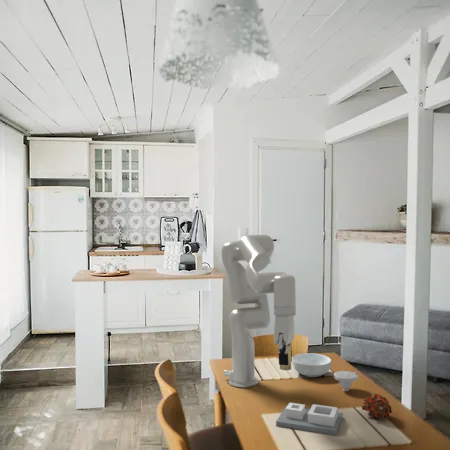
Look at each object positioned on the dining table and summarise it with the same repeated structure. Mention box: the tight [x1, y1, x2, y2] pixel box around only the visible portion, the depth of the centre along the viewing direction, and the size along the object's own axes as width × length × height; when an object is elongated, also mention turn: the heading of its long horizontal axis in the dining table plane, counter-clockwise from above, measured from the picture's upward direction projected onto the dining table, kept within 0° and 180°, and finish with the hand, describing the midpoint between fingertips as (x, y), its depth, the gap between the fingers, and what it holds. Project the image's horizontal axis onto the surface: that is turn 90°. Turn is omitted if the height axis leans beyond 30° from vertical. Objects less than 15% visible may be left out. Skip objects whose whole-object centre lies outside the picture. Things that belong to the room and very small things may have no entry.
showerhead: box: [333, 370, 359, 392], centre depth 192 cm, size 9×7×10 cm
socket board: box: [275, 402, 343, 436], centre depth 163 cm, size 20×14×4 cm
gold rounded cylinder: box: [279, 344, 292, 371], centre depth 166 cm, size 4×4×8 cm
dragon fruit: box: [361, 393, 393, 421], centre depth 167 cm, size 8×8×12 cm
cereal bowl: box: [291, 352, 332, 378], centre depth 211 cm, size 17×17×7 cm
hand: (285, 362), depth 166 cm, fingers closed on gold rounded cylinder, 4 cm apart
